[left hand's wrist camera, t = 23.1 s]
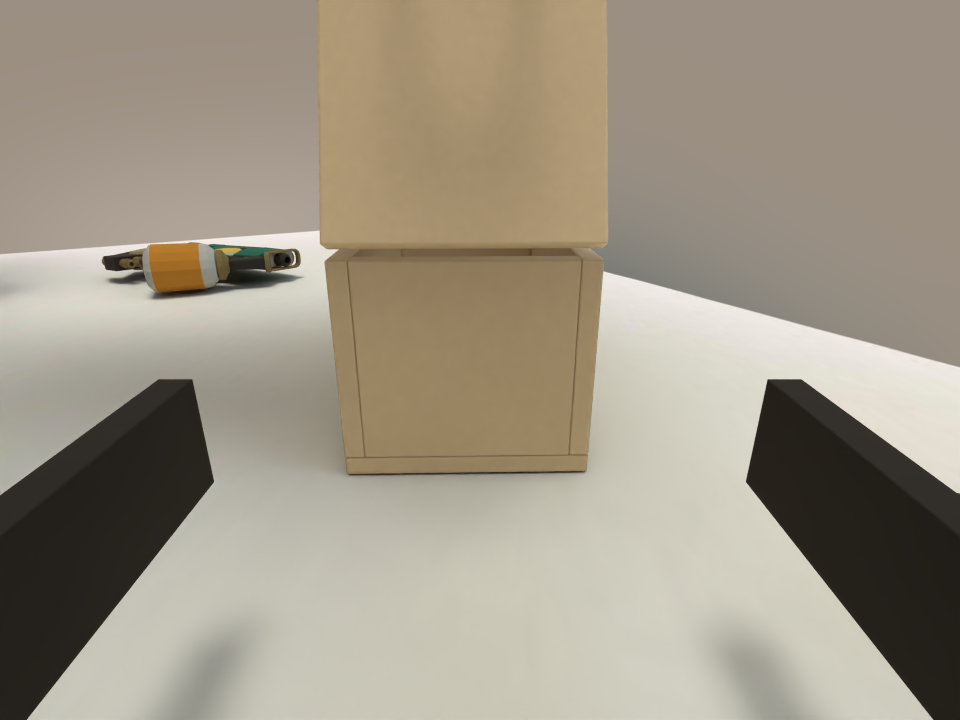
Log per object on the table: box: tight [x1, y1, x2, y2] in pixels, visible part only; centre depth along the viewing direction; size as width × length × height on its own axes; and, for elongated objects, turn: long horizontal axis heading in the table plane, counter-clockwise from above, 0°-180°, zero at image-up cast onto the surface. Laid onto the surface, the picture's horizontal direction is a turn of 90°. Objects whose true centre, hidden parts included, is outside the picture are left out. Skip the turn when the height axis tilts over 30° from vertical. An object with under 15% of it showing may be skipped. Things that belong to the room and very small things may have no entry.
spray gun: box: [102, 243, 301, 293], centre depth 55 cm, size 4×17×15 cm
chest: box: [325, 248, 604, 474], centre depth 28 cm, size 17×10×9 cm, turn 1°
